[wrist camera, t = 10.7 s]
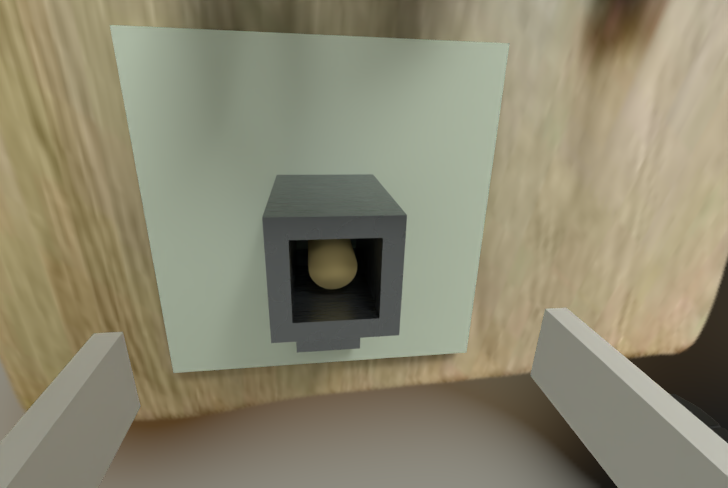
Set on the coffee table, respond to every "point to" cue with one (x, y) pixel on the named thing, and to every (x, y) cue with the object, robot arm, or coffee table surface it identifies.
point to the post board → (306, 157)
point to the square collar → (373, 253)
